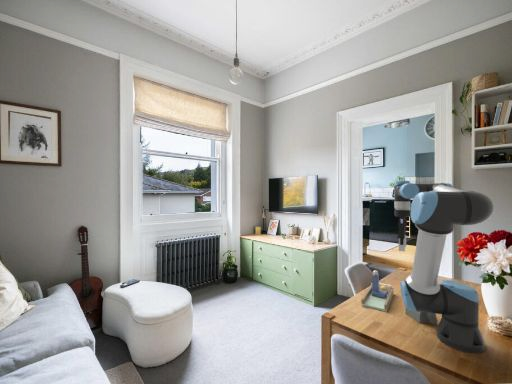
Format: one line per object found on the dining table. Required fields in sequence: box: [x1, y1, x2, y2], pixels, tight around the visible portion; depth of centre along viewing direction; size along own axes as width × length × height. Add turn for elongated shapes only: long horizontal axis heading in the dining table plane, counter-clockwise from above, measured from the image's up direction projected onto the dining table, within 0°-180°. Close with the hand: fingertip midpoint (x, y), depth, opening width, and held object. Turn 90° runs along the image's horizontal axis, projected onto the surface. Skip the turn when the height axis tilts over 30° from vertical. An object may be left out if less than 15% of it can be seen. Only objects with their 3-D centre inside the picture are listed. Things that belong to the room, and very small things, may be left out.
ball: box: [380, 286, 388, 291], centre depth 148 cm, size 4×4×4 cm
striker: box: [371, 270, 387, 298], centre depth 144 cm, size 6×7×14 cm
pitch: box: [360, 282, 394, 313], centre depth 141 cm, size 27×12×6 cm, turn 145°
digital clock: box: [405, 307, 439, 325], centre depth 121 cm, size 16×9×11 cm, turn 179°
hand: (402, 248), depth 134 cm, fingers open, 13 cm apart
